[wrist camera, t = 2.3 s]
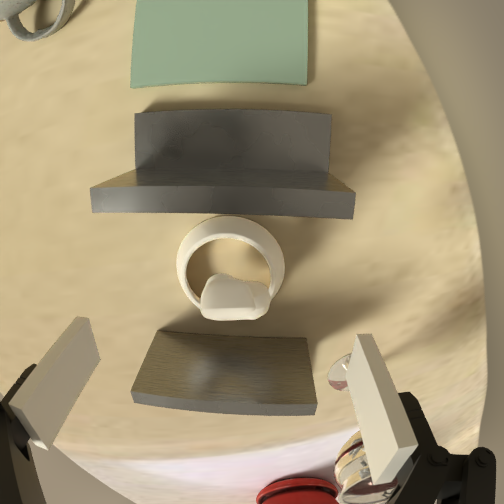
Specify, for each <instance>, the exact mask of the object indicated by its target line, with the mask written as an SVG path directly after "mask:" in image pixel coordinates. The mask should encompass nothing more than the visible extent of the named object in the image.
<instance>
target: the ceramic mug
mask: <svg viewBox="0 0 504 504" xmlns="http://www.w3.org/2000/svg"><path fill="white" fill-rule="evenodd" d="M36 1H37V0H0V21H4V20H6V21H7V25H8V27H9V29H10V31H11V32H12V34H13V35H14V36H15V37H16V38H18V39H20V40H23V41H37V40H40V39H42V38H45V37H48V36H50V35H52V34H54V33H55V32H57V31H58V30H59V29H60V28H62V27H63V26H64V24H65V23H66V22H67V21H68V19H69V17H70V15H71V13H72V11H73V8H74V5H75V0H62V6H61V10H60V13H59V15H58V17H57V20H56V22H55V23H54V25H52V26H50V27H48V28H45V29H43V30H39V29H38V30H37V31H36V32H35V33H31V32H29V31H27V30H26V28H25V27H23V25H22V23H21V22H20V19H19V17H18V14H19V13H21V12H22V11H23V10H25V9H26V8H27V7H29V6H30V5H32V4H33V3H34V2H36Z"/></svg>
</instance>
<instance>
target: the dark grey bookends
mask: <svg viewBox="0 0 504 504" xmlns="http://www.w3.org/2000/svg"><path fill="white" fill-rule="evenodd" d="M331 119H332V115H331V114H321V113H309V112H296V111H280V110H255V109H200V110H175V111H159V112H146V113H135V166H136V169H135V170H132V171H130V172H127V173H125V174H122V175H120V176H117V177H115V178H112V179H110V180H108V181H105V182H103V183H100V184H98V185H96V186H94V187H91V188H90V195H91V205H92V213H213V214H248V215H275V216H298V217H318V218H336V219H353V214H354V205H355V196H356V193H355V192H354V191H353V190H351V189H350V188H349V187H347V186H346V185H345V184H343V183H342V182H340V181H339V180H338V179H336V178H335V177H334V176H332V175H331V174H329V173H328V169H329V154H330V138H331ZM131 394H132V397H133V400H134V403H139V404H145V405H151V406H158V407H165V408H172V409H180V410H189V411H199V412H209V413H222V414H239V415H266V416H302V415H315V411H316V408H317V398H316V392H315V386H314V380H313V374H312V368H311V363H310V357H309V351H308V346H307V340H306V338H268V337H241V336H221V335H205V334H191V333H179V332H168V331H157V332H156V335H155V337H154V339H153V341H152V343H151V346H150V348H149V350H148V352H147V354H146V357H145V359H144V361H143V363H142V366H141V368H140V370H139V373H138V375H137V377H136V379H135V382H134V384H133V386H132V389H131Z"/></svg>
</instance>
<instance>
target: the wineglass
mask: <svg viewBox="0 0 504 504" xmlns="http://www.w3.org/2000/svg"><path fill="white" fill-rule="evenodd" d="M350 358H351V354H350V355H347V356H344V357H343V358H341V359H340V360H338V361H337V362H336V363H335V364H334V365H333V366H332V367H331V369H330V371H329V373H328V381H329V383H330V385H331V386H332V387H333V388H335V389H337V390H340V391H349V387H348V384H347V380H346V373H347V369H348V366H349V362H350ZM334 478H335V480H336V482H337V484H338V485H339V487H340V488H341V489H342V490H341V493H340V496H339V499H338V500H339V501H340V502H341V503H342V504H377V503H381V502H385V501H387V500H388V498H389V497H390V495H391V494H390V492H391V491H392V490H393V489H394V488H395V487H396V485H397V484H398V479H397V475H396V476H395V478H394V479H393V480H392V481H391V482H389V483H383V484H377V485H373V482H372V477H371V473H370V469H369V465H368V460H367V456H366V452H365V448H364V444H363V440H362V436H361V432H360V431H358V432H357V433H355V434H354V435H353V436H352V437H351V438H350V439H349V440H348V441H347V442H346V444H345V445H344V446H343V447H342V448H341V450H340V451H339V452H338V454H337V458H336V461H335V466H334Z"/></svg>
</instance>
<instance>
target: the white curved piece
mask: <svg viewBox="0 0 504 504" xmlns="http://www.w3.org/2000/svg"><path fill="white" fill-rule="evenodd" d="M220 238H233V239H238V240H241V241H244V242H246V243H249V244H250V245H252V246H253V247H255V248H256V249H257V250H258V251H259V252H260V253H261V254H262V255H263V257H264V258H265V260H266V261H267V264H268V266H269V269H270V275H271V280H270V286H269V290H268V289H267V287H266V286H265V285H264V284H263V283H260V282H256V281H243V280H239V279H234V278H233V277H232V276H231V275H229V274H224V273H220V274H215V275H213V276H211V277H210V278H209V279H208V280H207V283H206V285H205V287H204V290H203V292H202V295H201V299H200V298H199V297H198V296H196V295H195V293H194V292H193V291H192V290H191V288H190V286H189V284H188V281H187V277H186V269H187V264H188V262H189V259H190V257H191V256H192V254H193V253H194V252H195V251H196V250H197V249H198V248H199V247H200V246H202V245H203V244H205V243H206V242H209V241H211V240H214V239H220ZM176 265H177V274H178V278H179V281H180V284H181V286H182V288H183V290H184V292H185V294H186V295H187V296H188V298H189V299H190V300H191V301H192V302H193V304H195V305H196V306H197V307H198V308H199V309H201V310H200V311H201V313H202V315H203V316H204V317H205V318H207V319H212V320H219V321H225V320H246V319H249V320H255V319H257V318H259V317H260V316H263V315H264V314H265V313H267V311H268V309H269V306H270V301H271V300H272V299H273V298H274V296H275V295H276V294H277V292H278V290H279V288H280V286H281V285H282V281H283V278H284V271H285V263H284V257H283V253H282V251H281V248H280V246H279V244H278V243H277V241H276V240H275V238H274V237H273V236H272V235H271V234H270V233H269V232H268V231H267V230H266V229H265V228H264V227H262V226H261V225H259V224H258V223H256V222H254V221H251V220H249V219H246V218H242V217H237V216H220V217H215V218H211V219H208V220H206V221H203V222H201V223H200V224H198V225H197V226H195V227H194V228H193V229H192V230H191V231H190V232H189V233H188V234H187V235H186V236H185V238H184V239H183V241H182V243H181V244H180V247H179V250H178V253H177V261H176Z"/></svg>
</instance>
